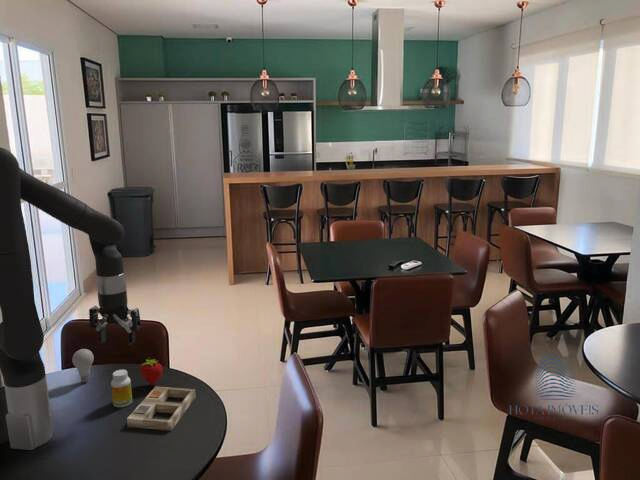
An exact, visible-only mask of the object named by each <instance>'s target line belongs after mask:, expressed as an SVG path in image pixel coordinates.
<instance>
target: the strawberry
mask: <svg viewBox="0 0 640 480" xmlns="http://www.w3.org/2000/svg"><path fill="white" fill-rule="evenodd" d="M145 361H146V362H143V363H141V365H140V369H139V371H140V375H141V377H142V378H143V379H144V380H145V381H146V382H147V383H148V384H149V386H154V387H155V385H156V383H157V382H158V381H159V380H160V379H161V377H162V375H163V370H164V369H163V365H161V364H160V363H159V362H158V360H156V358H153V359H151V358H148V359H145Z"/></svg>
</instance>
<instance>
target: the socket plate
mask: <svg viewBox="0 0 640 480" xmlns="http://www.w3.org/2000/svg"><path fill="white" fill-rule="evenodd" d="M170 397H171V398H181V399H183V400H182V402H173V401H172V402H171V401H170V402H168V401H167V400H168V399H169V398H170ZM196 398H197V397H196V389H195V388H193V389H192V388H183V387H181V388H180V387H170V386H169V387H167V386H159V385H157V386H154V388H153V389H152V390H151V391H150V392H149V393H148V394H147V396H146V397H145V398H144V399H143V400H142V401H141V402H140V403H139V404H138V405H137V406H136V408H135V409H134V410H133V411H132V412H131V413H130V414H129V416H127V418H126V421H127V428H139V429H150V430H151V429H152V430H161V431H170V432H171V431H172V430H173V429H174V427H175V426H176V425H177V424H178V422H180V419H181V418H182V416H183V415H184V414H185V412H186V411H187V409H188V408H189V407H190V406H191V404H192V403H193V401H195V399H196ZM156 413H162V414H163V413H165V414H172V415H171V416H170V418H169V419H161V418H153V417H154V416H155V414H156Z"/></svg>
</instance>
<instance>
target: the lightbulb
mask: <svg viewBox="0 0 640 480" xmlns="http://www.w3.org/2000/svg"><path fill="white" fill-rule="evenodd" d="M94 357H95V356H94V354H93V352H92V351H91V350H90V349H87V348H80V349H79V350H77V351H75V352H74V353H73V355H72V359H71V361H72V364H73V365H74V367H75V368H76V370H77V371H78V375H79V376H80V377H79V378H80V381H81V382H82V383H87V382H88V381H89V380H91V379H90V374H91V367H92V365H93V362H94V359H95V358H94Z"/></svg>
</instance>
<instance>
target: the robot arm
mask: <svg viewBox="0 0 640 480" xmlns="http://www.w3.org/2000/svg"><path fill="white" fill-rule="evenodd" d="M22 200H23V201H24V202H27V203H28V204H29V205H31V206H33V207H34V208H37V209H38V210H40V211H41V212H43V213H46V214H47V215H49V216H50V217H51V218H54V219H55V220H57V221H59V222H60V223H63V224H64V225H66V226H68V227H70V228H71V229H74V230H78V231H80V232H83V233H85V234H86V235H88V240H89V244H90V247H91V250H92V253H93V256H94V260H95V270H96V273H95V274H96V290H97V292H96V293H97V301H98V306H99V307H98V306H97V305H94V306H92V307H91V308H89V309H88V316H89V317H88V318H89V328H90V329H95V330H96V332H97V340H98V341H99V343H100V344H103V343H105V342H106V341H107V335H106V325H107V324H108V325H112V324H114V325H120V327H122V328H124V329H125V330H126V337H127V345H128V346H130V345H132V344H134V342H135V341H136V332H137V331H138V330H139V329H141V328H142V324H141V314H140V310H139V308H138V307H136V308H134V309H129V307H128V293H127V291H128V290H127V281H126V276H125V272H124V271H125V268H124V260H123V256H122V254H121V253H120V252H119V250H118V249H117V245H118V244H120V243H121V242H122V241H123V240H124V237H125V229H124V227H123V225H122V224H121V223H120V222H119V221H118V220H117V219H114V218H112V217H110V216H109V215H106V214H104V213H103V212H100V211H98V210H96V209H94V208H93V207H91V206H89V205H88V204H86V203H85V202H83V201H81V200H80V199H78V198H76V197H75V196H73V195H71V194H69V193H67V192H65V191H63V190H61V189H60V188H57V187H55V186H53V185H51V184H49V183H48V182H47V183H46V182H44V181H43V180H41V179H38V178H37V177H35V176H33V175H32V174H30V173H28V172H27V171H25V170H23V169H22V168H21V167H20V164H19V161H18V159H17V158H16V156H15V155H14V154H13V153H12V152H11V151H9V150H8V149H6V148H4V147H0V312H1V317H2V319H1V320H2V321H1V322H0V372H1V376H2V379H3V383H4V384H3V385H4V391H5V399H6V407H7V411H8V412H7V414H6V415H5V421H6V426H7V427H6V428H7V433H8V434H7V435H8V439H9V446H10V449H16V450H25V451H33V450H34V449H36V448H38V447H40V446H43V445H44V444H46V443H48V442H49V441H50V440H51V439H52V438H53V436H54V429H53V422H52V415H51V414H52V413H51V407H50V399H49V392H48V391H49V390H48V383H47V373H46V369H45V368H46V367H45V364H44V361H43V359H42V357H41V354H40V351H41V349H42V347H43V344H44V339H45V335H44V331H43V328H42V324H41V321H40V317H39V314H38V310H37V305H36V300H35V287H34V278H33V277H34V276H33V270H32V269H33V268H32V258H31V252H30V245H29V240H28V236H27V230H26V224H25V220H24V216H23V211H22ZM99 315H100V316H101V317H102V318H101V319H100V321H99Z"/></svg>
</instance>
